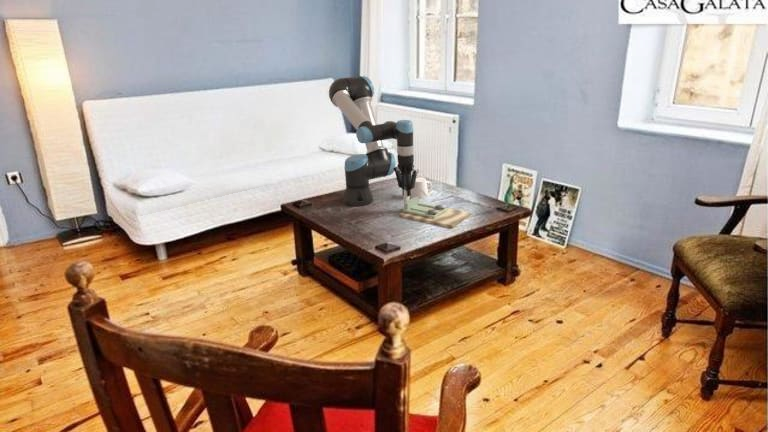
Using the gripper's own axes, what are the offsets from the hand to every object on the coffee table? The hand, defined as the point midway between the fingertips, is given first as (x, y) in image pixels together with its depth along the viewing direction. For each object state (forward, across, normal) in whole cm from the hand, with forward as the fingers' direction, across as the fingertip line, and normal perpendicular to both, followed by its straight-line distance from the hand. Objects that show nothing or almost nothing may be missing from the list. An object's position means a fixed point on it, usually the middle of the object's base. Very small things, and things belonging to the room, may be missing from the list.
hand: (406, 201), depth 241 cm
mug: (+4, -5, +20) cm, 21 cm away
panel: (+3, +10, 0) cm, 10 cm away
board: (+4, +16, 0) cm, 16 cm away
